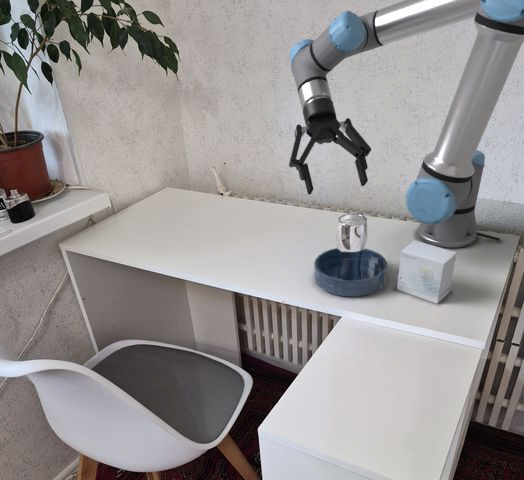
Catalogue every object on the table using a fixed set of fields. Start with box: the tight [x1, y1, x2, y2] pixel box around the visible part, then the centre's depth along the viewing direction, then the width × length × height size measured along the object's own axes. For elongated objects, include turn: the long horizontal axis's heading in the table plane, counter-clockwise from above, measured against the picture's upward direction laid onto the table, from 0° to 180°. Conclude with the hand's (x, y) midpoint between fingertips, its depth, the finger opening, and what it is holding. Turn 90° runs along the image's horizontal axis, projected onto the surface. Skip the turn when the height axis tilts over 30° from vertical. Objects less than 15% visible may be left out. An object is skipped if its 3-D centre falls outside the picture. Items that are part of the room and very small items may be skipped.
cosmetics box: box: [396, 240, 458, 304], centre depth 115 cm, size 10×6×10 cm, turn 48°
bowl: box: [313, 247, 388, 297], centre depth 123 cm, size 17×17×4 cm
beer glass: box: [336, 213, 368, 280], centre depth 120 cm, size 7×7×15 cm
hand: (338, 187), depth 121 cm, fingers open, 13 cm apart
